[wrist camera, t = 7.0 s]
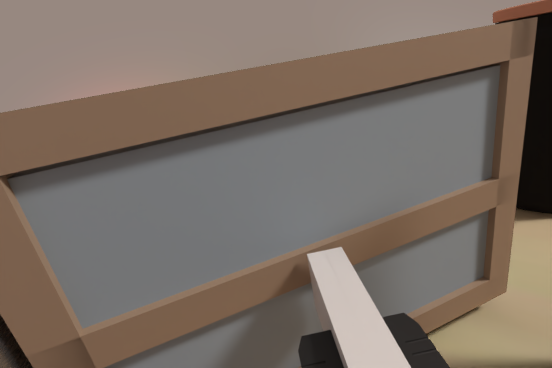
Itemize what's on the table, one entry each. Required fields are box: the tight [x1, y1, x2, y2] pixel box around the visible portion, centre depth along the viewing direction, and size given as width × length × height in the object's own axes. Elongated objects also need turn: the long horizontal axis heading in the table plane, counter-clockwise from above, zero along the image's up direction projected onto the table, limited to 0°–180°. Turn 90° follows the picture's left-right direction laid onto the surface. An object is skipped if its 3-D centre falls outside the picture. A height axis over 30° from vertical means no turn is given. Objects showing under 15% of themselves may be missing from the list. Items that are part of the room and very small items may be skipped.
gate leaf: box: [0, 17, 538, 368], centre depth 14 cm, size 23×2×16 cm, turn 112°
